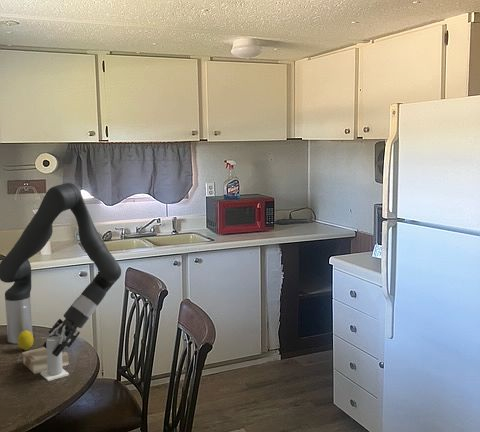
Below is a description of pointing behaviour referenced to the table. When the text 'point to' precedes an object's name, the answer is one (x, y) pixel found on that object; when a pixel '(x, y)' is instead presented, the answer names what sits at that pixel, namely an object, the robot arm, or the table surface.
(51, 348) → the beverage can
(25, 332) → the lemon
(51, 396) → the table surface
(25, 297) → the robot arm
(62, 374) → the tile
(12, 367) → the table surface
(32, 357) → the lane rack
